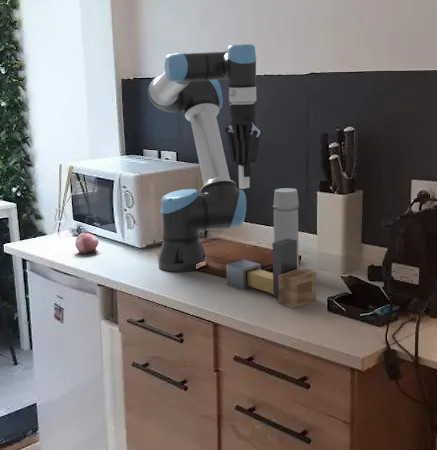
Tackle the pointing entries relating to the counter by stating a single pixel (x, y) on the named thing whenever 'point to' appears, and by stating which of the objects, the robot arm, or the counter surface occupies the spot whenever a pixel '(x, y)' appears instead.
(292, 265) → the grey and yellow block
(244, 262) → the sleeve
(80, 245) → the apple
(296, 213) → the water bottle
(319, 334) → the counter surface
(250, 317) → the counter surface
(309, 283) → the socket block
